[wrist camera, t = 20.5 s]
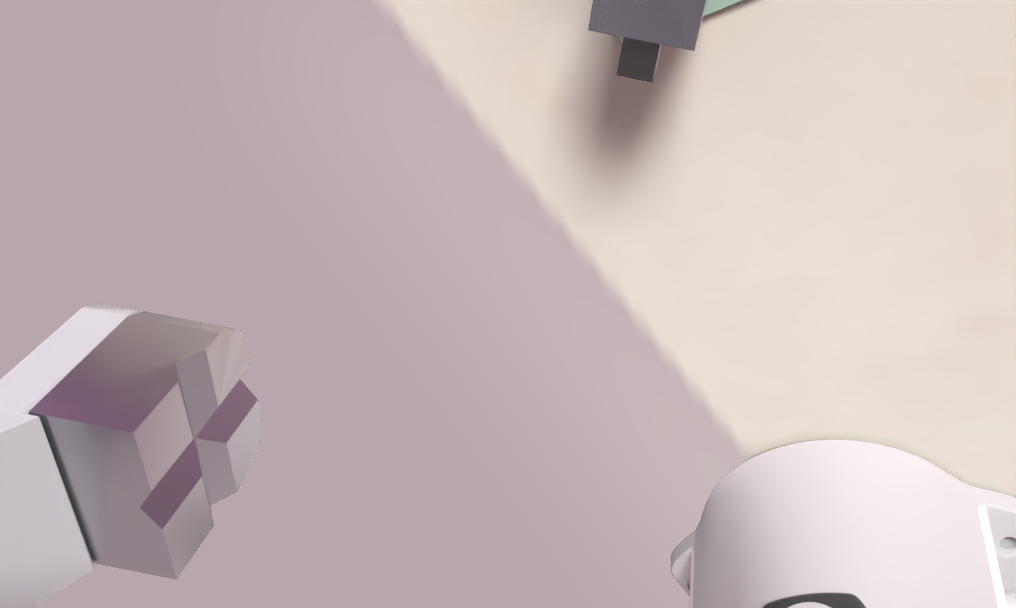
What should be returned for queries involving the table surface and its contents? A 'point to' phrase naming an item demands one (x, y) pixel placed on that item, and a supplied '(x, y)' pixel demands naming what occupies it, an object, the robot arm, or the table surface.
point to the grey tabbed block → (647, 30)
